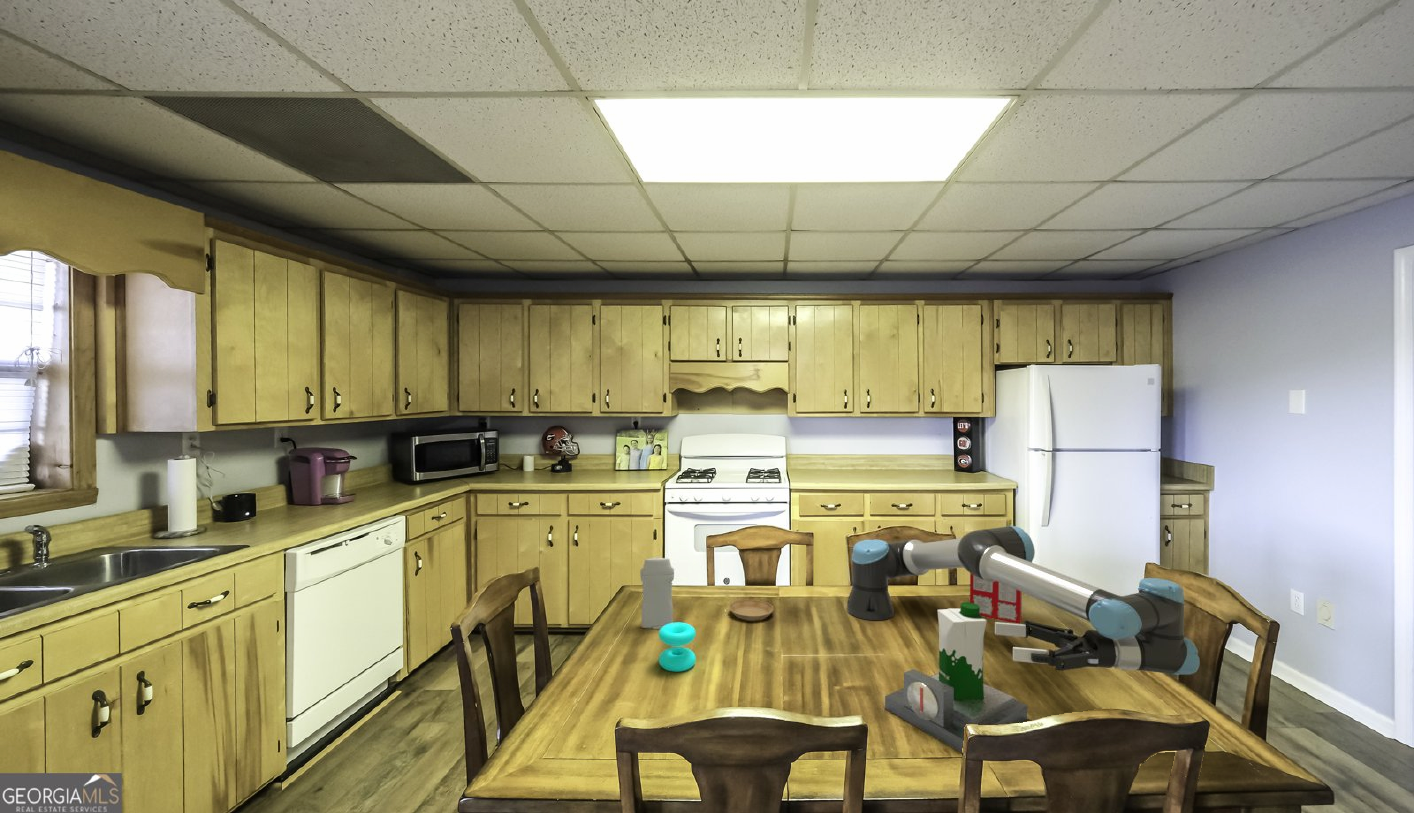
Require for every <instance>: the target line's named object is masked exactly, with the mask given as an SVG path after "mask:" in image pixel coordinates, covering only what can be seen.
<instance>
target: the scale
mask: <svg viewBox="0 0 1414 813" xmlns="http://www.w3.org/2000/svg"><path fill="white" fill-rule="evenodd" d="M983 687H984V699H968V700H954V688H953V687H951V686H949V685H946V684H944V683H942V682H940V681H939V672H937V673H935V674H933V675H931V676H930V675H927V674H925V673H923V672H921V671H919V670H917V669H915V668H912V669H910V670H907V671H906V672H903V688H900V689H899V690H898V689H897V690H896V691H894V692H892V693H889V694H886V695H884V709H885V710H887V711H888V712H890V713H891V714H893V715H895V716H896V717H898V718H900V719H902V720H903V721H905V722H907V723H908V724H910V725H912V726H914V727H915V728H917V729H919V730H921V731H922V732H924V733H926V734H927V735H929V736H931V737H932V738H935V739H936V740H938V741H939V742H941V743H942V744H945V745H947V746H948V747H950V748H952V749H953V750H955V751H956V752H959V754H962V748H963V741H964V727H965V725H966V724H978V725H998V724H1010V723H1019V722H1020V723H1023V721H1025V720H1027V719H1028V704H1026V703H1024V702H1021V701H1020V700H1017V699H1015V697H1014V696H1012V695H1010V694H1007V693H1005V692H1003V691H1001V690H999V689H997V688H995V687H992V686H990V685H987V684H986V683H984V682H983ZM1020 723H1019V724H1020Z"/></svg>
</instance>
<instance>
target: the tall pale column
mask: <svg viewBox="0 0 1414 813" xmlns="http://www.w3.org/2000/svg"><path fill="white" fill-rule="evenodd" d="M639 573H640V575H639V576H640V578H639V579H640V581H641V583H642V584H641V586H642V599H643V600H642V603H641V628H642V629H648V630H649V629H650V630H651V629H653V630H660V629H661V628H662V627H663V626H664V625H667V624H670V623H674V604H673V600H672V596H673V589H672V588H673V581H674V579H675V568H673V567H672V564H671V560H670V558H665V557H653V558H647V559H644V564H643V567H642V568H641V569H640V571H639Z"/></svg>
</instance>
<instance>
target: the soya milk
mask: <svg viewBox="0 0 1414 813" xmlns="http://www.w3.org/2000/svg"><path fill="white" fill-rule="evenodd" d="M937 618H938V633H939V635H938V639H939V640H938V642H939V643H938V673H939V681H940V682H942V683H944V684H946V685H949V686H951V687H953V688H954V700H968V699H984V687H983V683H984V637H985V636H984V635H985V631H986V627H987V623H988V622H987V619H985V617H982V616H981V615H980V607H979V606H978V605H977V604H974V603H970V602H962V603H960V608H953V607H952V608H951V607H950V608H947V609H945V608H944V609H942V608H941V609H937Z"/></svg>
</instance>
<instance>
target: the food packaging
mask: <svg viewBox="0 0 1414 813" xmlns="http://www.w3.org/2000/svg"><path fill="white" fill-rule="evenodd" d="M969 573H970V572H969ZM969 578H970V579H969V603H974V604H977V605H978V606H979V607H980V615H981V617H982V616H985V617H984V618H987V617H989V618H988V619H992V618H994V619H993V620H997V619H999V621H1003V620H1004V621H1003V622H1007V623H1012V624H1022V608H1023V606H1022V598H1023V597H1022V596H1023V594H1022V593H1023V592H1021V591H1018V590H1016V589H1014V588H1012V587H1009V586H1007V585H1005V584H1002V583H1000V582H998V581H995V582H988V581H985V580H983V579H981V578H979V577H977V576H975V575H973V574H971V573H970V574H969Z"/></svg>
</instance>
